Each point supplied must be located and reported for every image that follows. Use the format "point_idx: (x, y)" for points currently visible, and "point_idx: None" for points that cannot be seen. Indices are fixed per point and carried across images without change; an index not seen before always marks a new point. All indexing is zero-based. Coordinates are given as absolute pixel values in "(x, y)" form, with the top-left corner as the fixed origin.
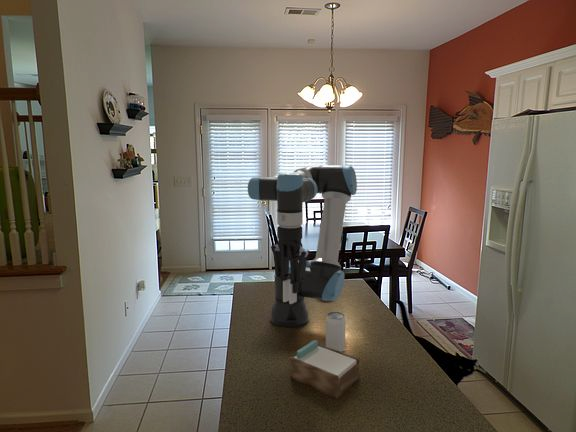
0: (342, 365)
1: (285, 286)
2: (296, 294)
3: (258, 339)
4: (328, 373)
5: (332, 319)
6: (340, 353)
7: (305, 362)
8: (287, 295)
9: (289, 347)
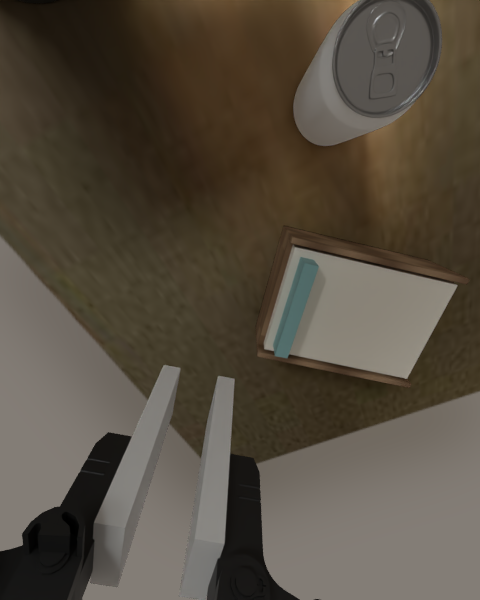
0: (414, 330)
1: (137, 518)
2: (231, 419)
3: (49, 172)
4: (382, 381)
5: (370, 117)
6: (400, 267)
7: (308, 363)
8: (166, 422)
9: (175, 176)
